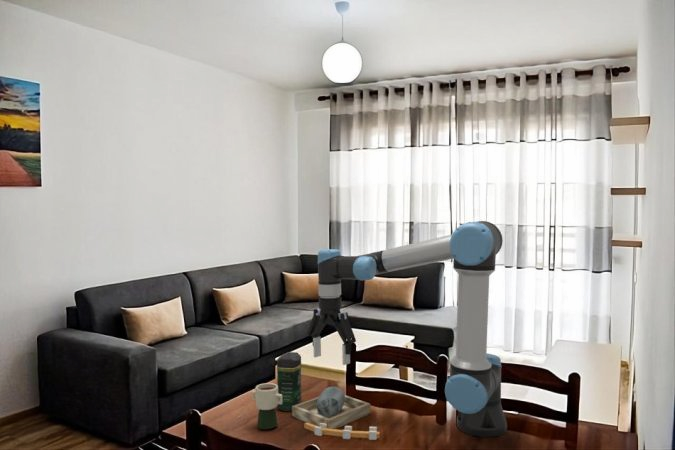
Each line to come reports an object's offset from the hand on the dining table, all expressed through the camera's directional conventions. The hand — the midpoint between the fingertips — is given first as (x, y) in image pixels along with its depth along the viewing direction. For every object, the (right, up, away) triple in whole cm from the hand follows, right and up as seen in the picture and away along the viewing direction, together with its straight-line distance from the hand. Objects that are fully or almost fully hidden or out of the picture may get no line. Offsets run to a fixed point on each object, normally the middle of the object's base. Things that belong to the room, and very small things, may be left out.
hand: (331, 360), depth 177 cm
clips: (+5, -19, -15) cm, 25 cm away
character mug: (-20, -19, -8) cm, 29 cm away
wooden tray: (0, -19, +1) cm, 19 cm away
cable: (+3, -19, -13) cm, 23 cm away
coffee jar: (-15, -19, +9) cm, 25 cm away
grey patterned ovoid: (0, -18, +1) cm, 18 cm away
